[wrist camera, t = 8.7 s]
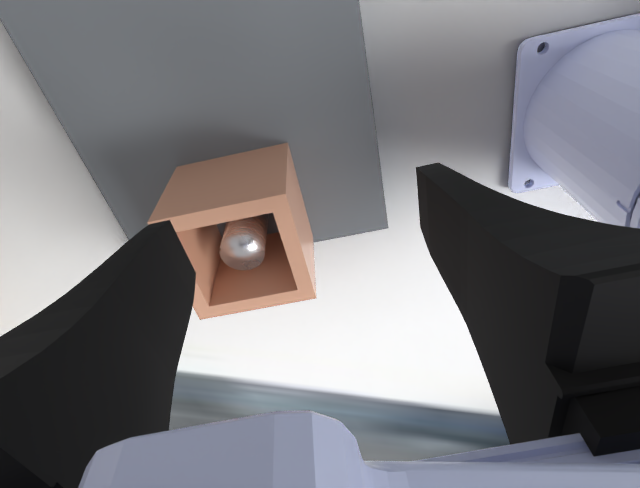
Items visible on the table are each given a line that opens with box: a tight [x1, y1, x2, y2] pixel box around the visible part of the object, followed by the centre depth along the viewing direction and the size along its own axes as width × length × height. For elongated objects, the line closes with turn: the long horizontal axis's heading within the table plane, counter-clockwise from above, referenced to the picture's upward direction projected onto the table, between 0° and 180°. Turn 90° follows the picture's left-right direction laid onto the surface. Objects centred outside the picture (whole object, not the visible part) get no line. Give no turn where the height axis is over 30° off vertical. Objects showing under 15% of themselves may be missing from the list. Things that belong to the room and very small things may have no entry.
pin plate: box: [0, 0, 388, 270], centre depth 17 cm, size 14×20×6 cm
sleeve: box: [147, 143, 316, 320], centre depth 20 cm, size 6×6×5 cm
